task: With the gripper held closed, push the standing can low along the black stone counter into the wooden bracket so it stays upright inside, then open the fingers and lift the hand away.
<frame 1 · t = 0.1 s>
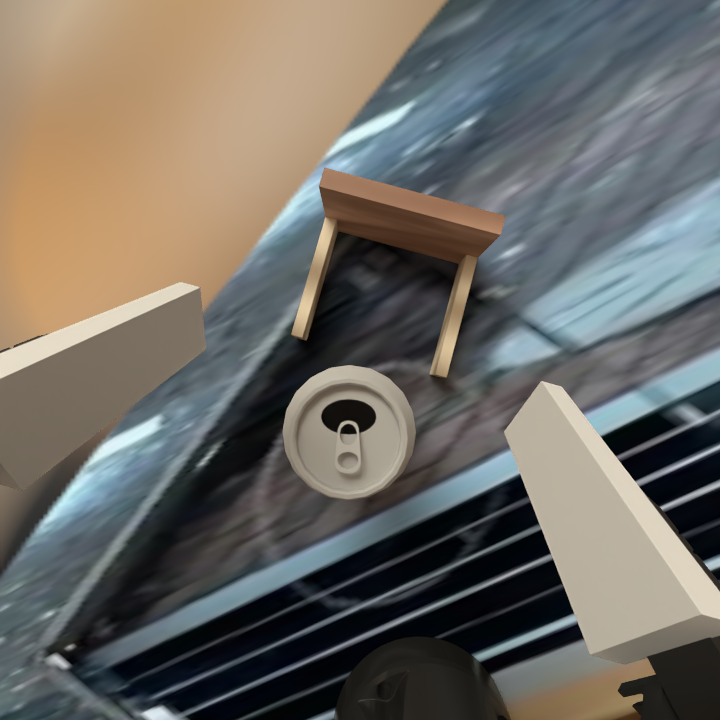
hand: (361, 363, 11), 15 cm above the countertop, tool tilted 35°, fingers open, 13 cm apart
wooden bracket: (387, 286, 26), on the countertop
can: (353, 408, 26), on the countertop
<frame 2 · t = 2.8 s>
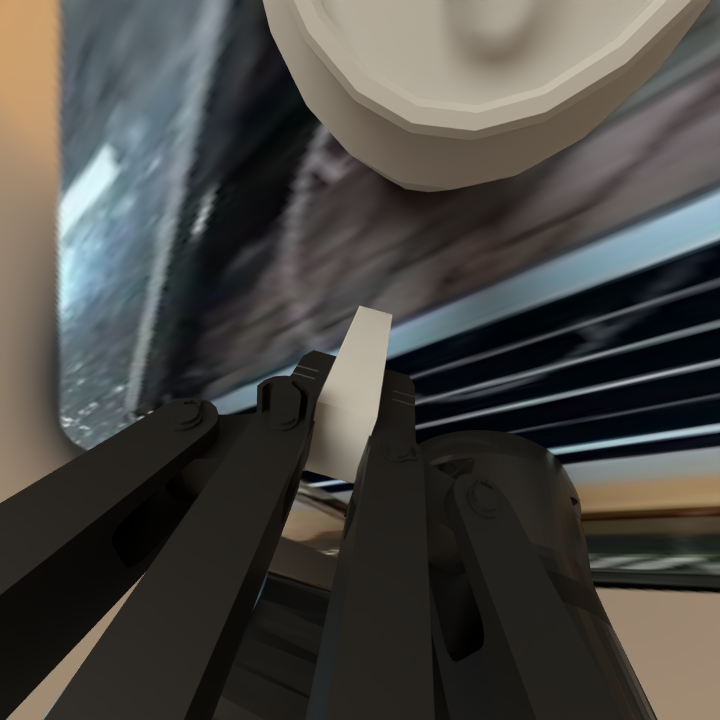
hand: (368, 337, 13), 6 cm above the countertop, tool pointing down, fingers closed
can: (434, 97, 13), on the countertop
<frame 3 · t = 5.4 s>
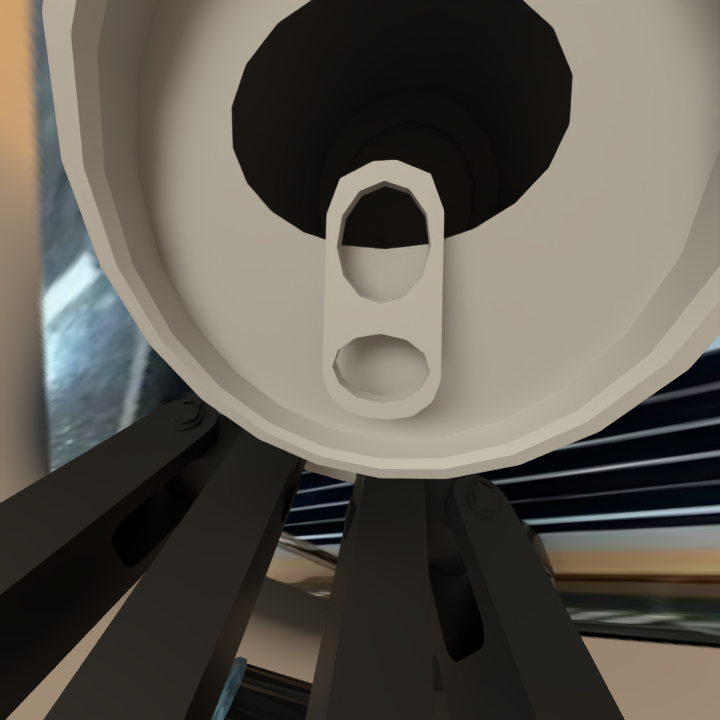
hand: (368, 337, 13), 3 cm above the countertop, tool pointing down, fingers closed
can: (404, 208, 13), on the countertop, touching gripper
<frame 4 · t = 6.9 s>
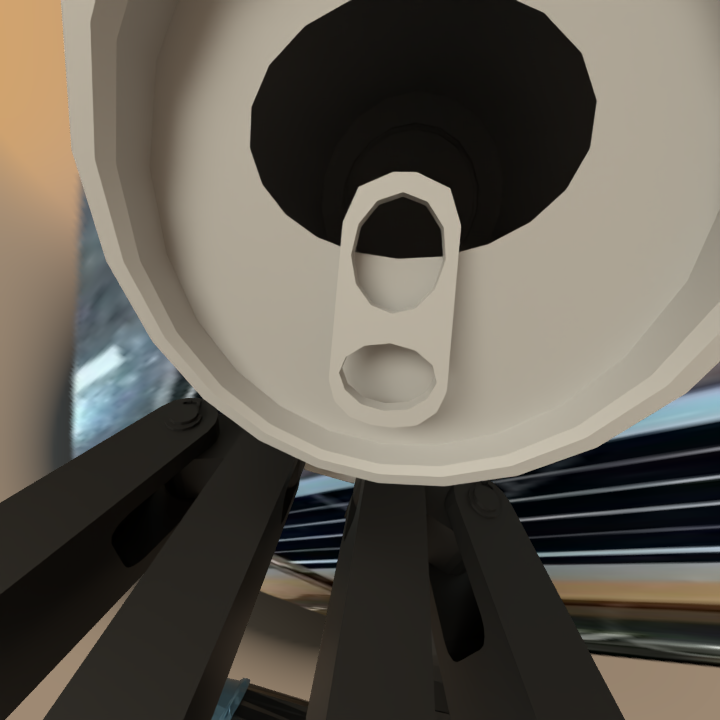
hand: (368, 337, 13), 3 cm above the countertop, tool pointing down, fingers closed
can: (407, 209, 13), on the countertop, touching gripper
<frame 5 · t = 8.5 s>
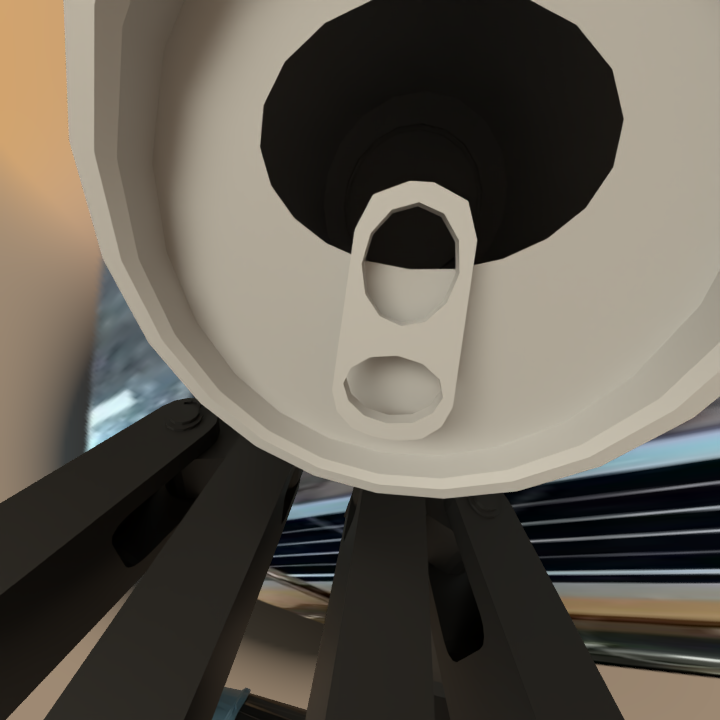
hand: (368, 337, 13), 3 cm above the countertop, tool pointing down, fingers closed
can: (410, 210, 13), on the countertop, touching gripper
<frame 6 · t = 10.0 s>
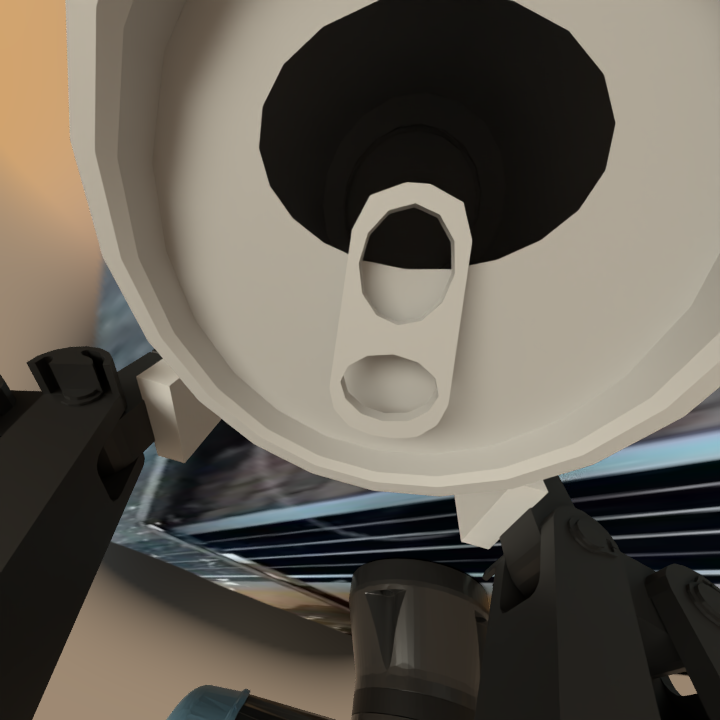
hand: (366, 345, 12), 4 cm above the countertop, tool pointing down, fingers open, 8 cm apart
can: (409, 210, 13), on the countertop
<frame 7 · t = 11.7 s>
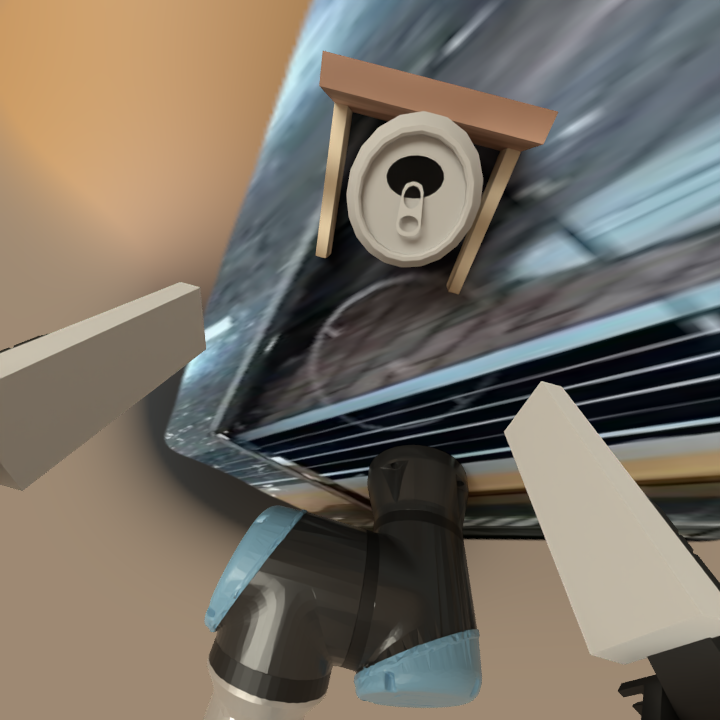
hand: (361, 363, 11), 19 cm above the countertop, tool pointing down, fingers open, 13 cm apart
wooden bracket: (410, 189, 24), on the countertop
can: (411, 194, 24), on the countertop
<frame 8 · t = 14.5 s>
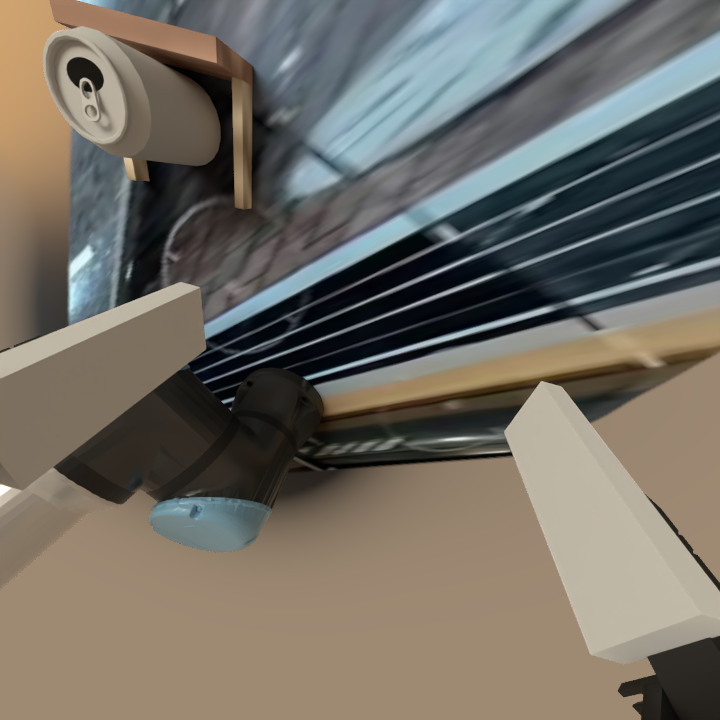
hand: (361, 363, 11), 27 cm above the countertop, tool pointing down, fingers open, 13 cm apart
wooden bracket: (190, 120, 30), on the countertop
can: (194, 125, 30), on the countertop
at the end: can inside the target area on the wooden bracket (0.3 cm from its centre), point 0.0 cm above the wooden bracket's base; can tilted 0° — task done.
